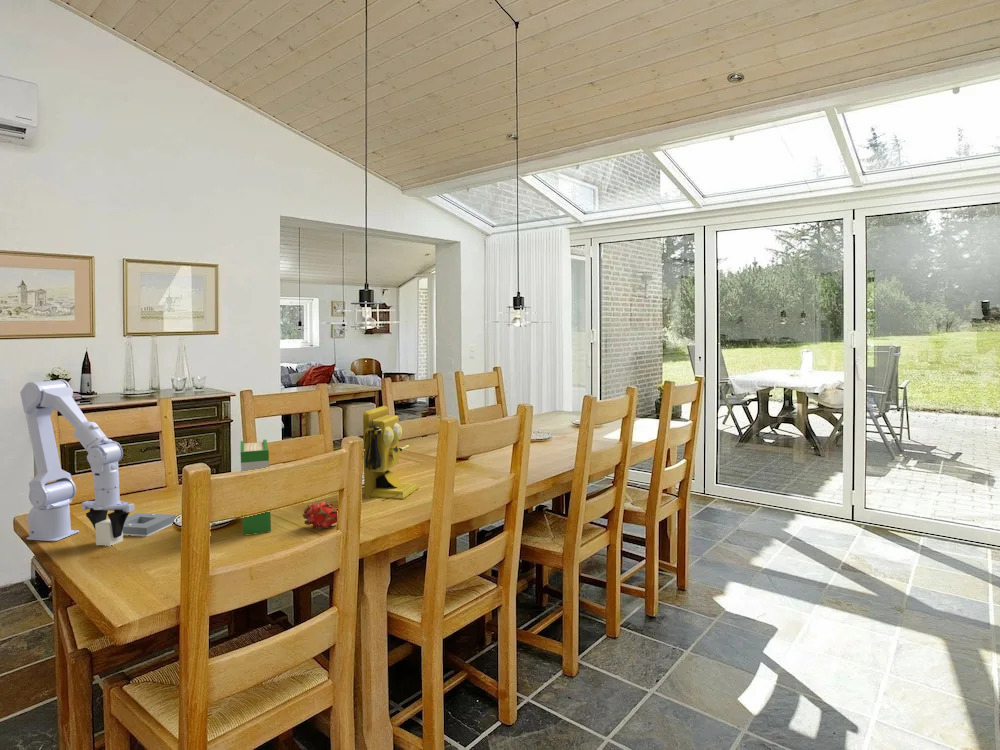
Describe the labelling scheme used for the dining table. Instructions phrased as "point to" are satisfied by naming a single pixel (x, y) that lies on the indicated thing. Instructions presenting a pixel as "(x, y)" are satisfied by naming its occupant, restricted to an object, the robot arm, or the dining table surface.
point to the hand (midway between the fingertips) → (109, 536)
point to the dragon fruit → (321, 515)
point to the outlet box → (146, 523)
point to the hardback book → (251, 460)
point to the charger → (106, 534)
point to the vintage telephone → (383, 455)
